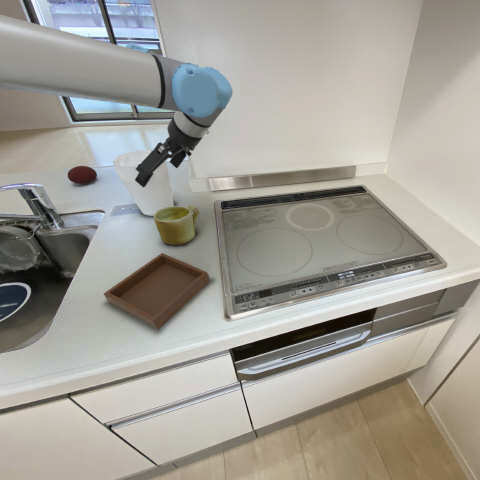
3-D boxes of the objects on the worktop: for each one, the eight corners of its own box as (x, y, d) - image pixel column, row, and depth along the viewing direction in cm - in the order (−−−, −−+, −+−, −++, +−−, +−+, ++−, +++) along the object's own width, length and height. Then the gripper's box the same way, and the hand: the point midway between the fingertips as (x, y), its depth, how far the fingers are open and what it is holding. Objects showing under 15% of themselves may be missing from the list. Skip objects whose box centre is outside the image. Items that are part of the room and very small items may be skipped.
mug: (168, 251, 67) (158, 213, 64) (155, 244, 74) (145, 209, 70) (213, 238, 75) (206, 204, 72) (197, 233, 82) (191, 202, 79)
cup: (139, 223, 78) (113, 170, 68) (133, 204, 86) (109, 154, 75) (184, 211, 85) (167, 161, 74) (174, 195, 92) (158, 147, 82)
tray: (109, 302, 56) (102, 293, 54) (166, 261, 67) (162, 252, 65) (158, 329, 52) (152, 320, 50) (210, 281, 63) (207, 272, 61)
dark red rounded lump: (69, 182, 95) (60, 167, 92) (95, 175, 100) (87, 160, 97) (76, 189, 92) (66, 173, 88) (102, 181, 97) (94, 166, 93)
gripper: (166, 156, 56) (135, 203, 68) (226, 125, 75) (194, 166, 87) (136, 127, 54) (109, 181, 66) (206, 103, 73) (175, 149, 85)
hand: (157, 173), depth 76 cm, fingers open, 13 cm apart
